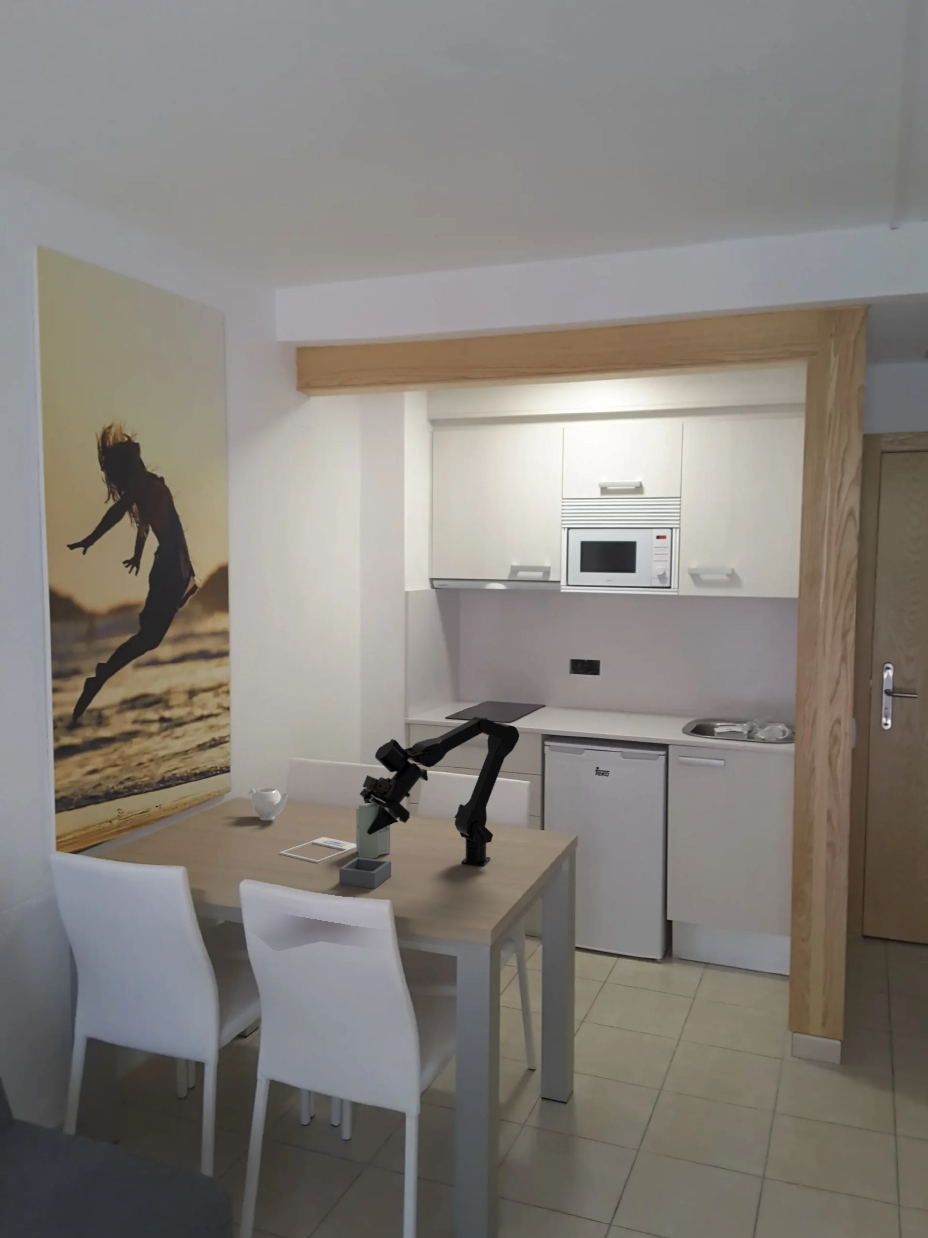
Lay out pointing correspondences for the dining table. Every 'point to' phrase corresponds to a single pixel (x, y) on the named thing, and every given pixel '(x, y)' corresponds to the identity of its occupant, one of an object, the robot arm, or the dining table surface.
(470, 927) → the dining table surface
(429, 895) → the dining table surface
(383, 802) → the robot arm
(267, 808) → the teapot
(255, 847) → the dining table surface
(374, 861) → the gray square tray
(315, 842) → the photo frame
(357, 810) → the supplement box
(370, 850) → the sage peg
